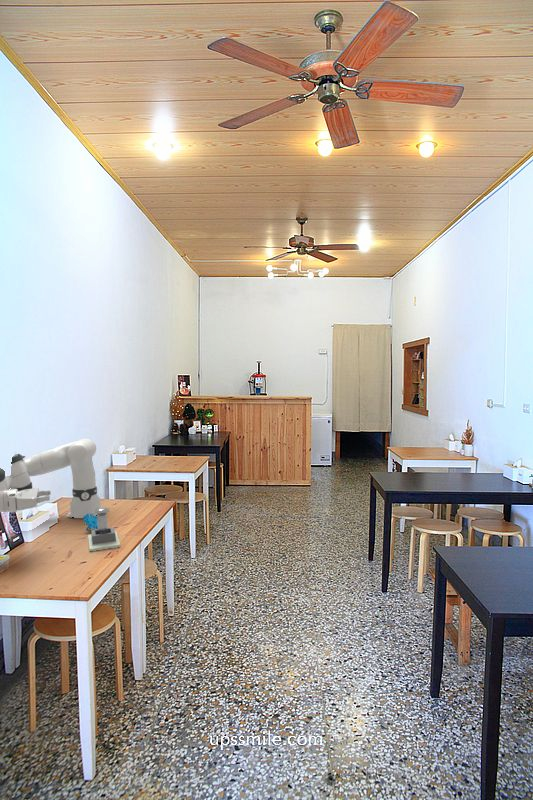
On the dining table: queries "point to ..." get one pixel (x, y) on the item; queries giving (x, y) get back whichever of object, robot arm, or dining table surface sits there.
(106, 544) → the socket board
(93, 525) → the gear
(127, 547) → the dining table surface
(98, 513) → the pin
